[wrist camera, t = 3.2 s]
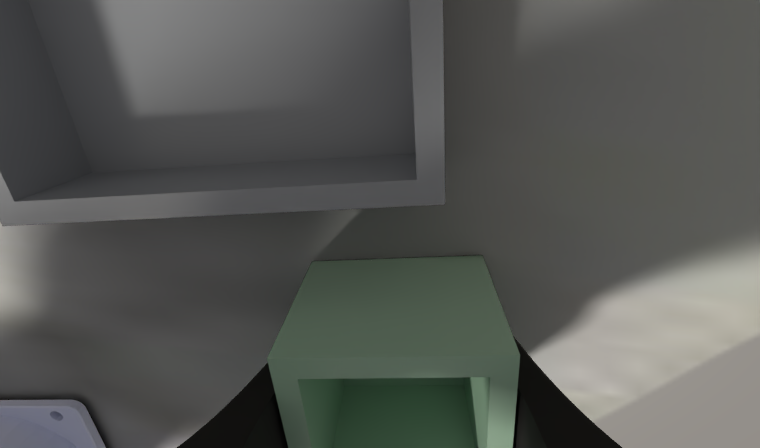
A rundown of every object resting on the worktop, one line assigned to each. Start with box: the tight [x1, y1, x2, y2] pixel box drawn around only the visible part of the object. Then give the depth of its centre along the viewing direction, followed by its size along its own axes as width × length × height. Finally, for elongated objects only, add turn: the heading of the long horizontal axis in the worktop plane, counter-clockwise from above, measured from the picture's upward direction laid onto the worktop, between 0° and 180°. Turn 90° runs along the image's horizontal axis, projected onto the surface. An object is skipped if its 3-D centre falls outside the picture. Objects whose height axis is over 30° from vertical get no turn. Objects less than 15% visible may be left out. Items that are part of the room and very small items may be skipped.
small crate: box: [267, 255, 520, 448], centre depth 12 cm, size 6×6×4 cm
